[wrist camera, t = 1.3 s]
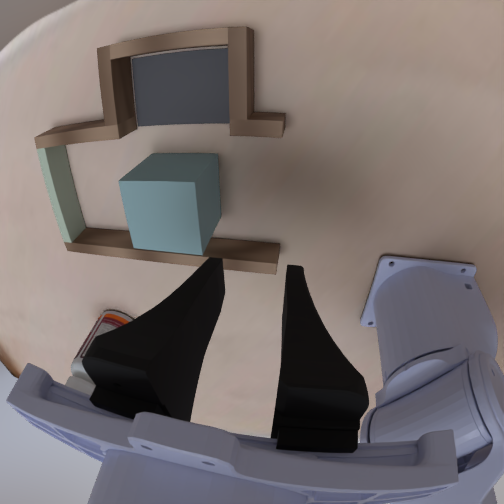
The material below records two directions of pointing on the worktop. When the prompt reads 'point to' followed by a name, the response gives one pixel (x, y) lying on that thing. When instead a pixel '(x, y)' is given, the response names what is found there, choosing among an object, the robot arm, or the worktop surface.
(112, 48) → the brown frame
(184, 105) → the mat
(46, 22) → the worktop surface
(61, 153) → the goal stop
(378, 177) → the worktop surface
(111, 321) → the pill bottle
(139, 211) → the teal block
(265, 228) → the worktop surface
